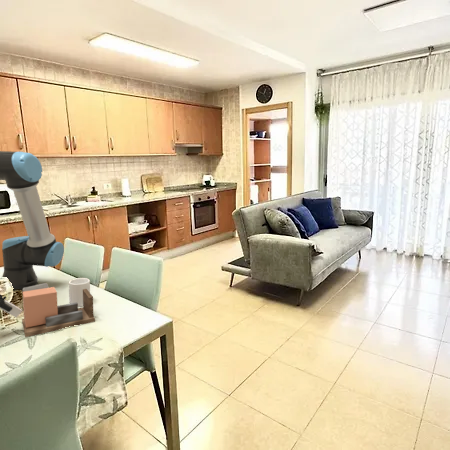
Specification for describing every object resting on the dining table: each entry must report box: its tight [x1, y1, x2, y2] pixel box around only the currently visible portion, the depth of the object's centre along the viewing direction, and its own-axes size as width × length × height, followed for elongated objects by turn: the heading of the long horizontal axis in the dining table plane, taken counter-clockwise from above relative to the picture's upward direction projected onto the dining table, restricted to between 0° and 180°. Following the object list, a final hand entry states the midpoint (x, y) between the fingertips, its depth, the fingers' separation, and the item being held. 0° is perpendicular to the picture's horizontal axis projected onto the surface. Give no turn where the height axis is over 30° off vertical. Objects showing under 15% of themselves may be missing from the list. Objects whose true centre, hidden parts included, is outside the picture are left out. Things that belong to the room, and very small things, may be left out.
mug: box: [68, 277, 91, 308], centre depth 139 cm, size 8×12×10 cm, turn 40°
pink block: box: [22, 286, 58, 328], centre depth 116 cm, size 10×6×11 cm, turn 126°
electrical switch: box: [21, 282, 49, 293], centre depth 132 cm, size 9×5×9 cm, turn 141°
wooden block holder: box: [21, 289, 96, 338], centre depth 119 cm, size 22×12×10 cm, turn 126°
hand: (19, 313), depth 112 cm, fingers closed
